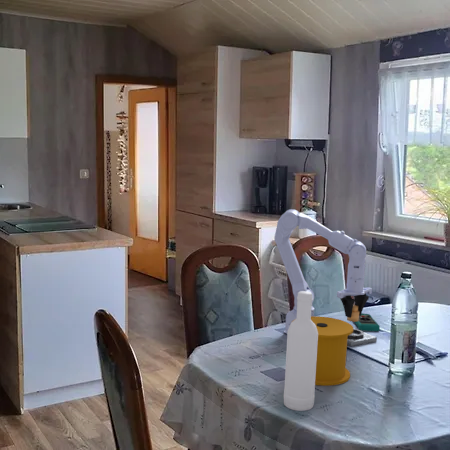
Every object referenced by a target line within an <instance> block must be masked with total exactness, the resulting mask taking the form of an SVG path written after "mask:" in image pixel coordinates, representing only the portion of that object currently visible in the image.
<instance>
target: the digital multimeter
mask: <svg viewBox="0 0 450 450" xmlns="http://www.w3.org/2000/svg"><path fill="white" fill-rule="evenodd" d="M354 323H355V325H356V327H357V328H358V330H361V331H363V332H380V328H381V327H380V326H381V325H380V324H379V323H378V322H377V321H376V320H375V319H374V317H372V315H371V314H370V313H364V312H363V313H361V316H359V321H357V322H354Z"/></svg>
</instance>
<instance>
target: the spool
mask: <svg viewBox="0 0 450 450" xmlns="http://www.w3.org/2000/svg"><path fill="white" fill-rule="evenodd" d="M293 321H294V320H293ZM293 321H292V322H293ZM311 321H312V322H313V323H314V324H315V325H316V327H317V331H318V344H317V360H316V376H315V386H324V387H327V386H328V387H329V386H338V385H343V384H345V383H347V382H348V381H349V380H350V379H351V372H350V370H349V369H347V367H346V366H347V365H346V364H347V351H348V350H347V348H348V345H347V338H348V335H350V334H352V333H353V328H354V326H353V325H352V324H351V323H350V322H347V321H345V320H341V319H339V318H334V317H327V316H319V315H317V316H315V315H314V316H311ZM292 322H291V323H292Z"/></svg>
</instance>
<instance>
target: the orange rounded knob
mask: <svg viewBox="0 0 450 450" xmlns="http://www.w3.org/2000/svg"><path fill="white" fill-rule="evenodd" d="M346 320H347V321H349V322H353V323H355V322H357V321H359V311H358V306H357V305H355V304H353V308H352V315H351V317H350V318H349V317H346Z"/></svg>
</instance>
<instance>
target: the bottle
mask: <svg viewBox="0 0 450 450" xmlns="http://www.w3.org/2000/svg"><path fill="white" fill-rule="evenodd" d="M312 300H313V298H312V293H311V292H307V291H300V292H299V293H298V296H297V318H296V319H295V320H294V321H293V322H292V323H291V324H290V326H289V329H288V332H287V334H286V353H285V369H284V371H285V372H284V373H285V374H284V388H283V389H284V390H283V404H284V406H285V407H286V408H287V409H290V410H291V411H292V410H293V411H297V412H303V411H305V412H306V411H310V410H311V409H313V408H314V405H315V395H316V394H315V388H316V385H315V376H316V360H317V344H318V331H317V327H316V325H315V324H314V323H313V322H312V321H311V306H313V304H312Z"/></svg>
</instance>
